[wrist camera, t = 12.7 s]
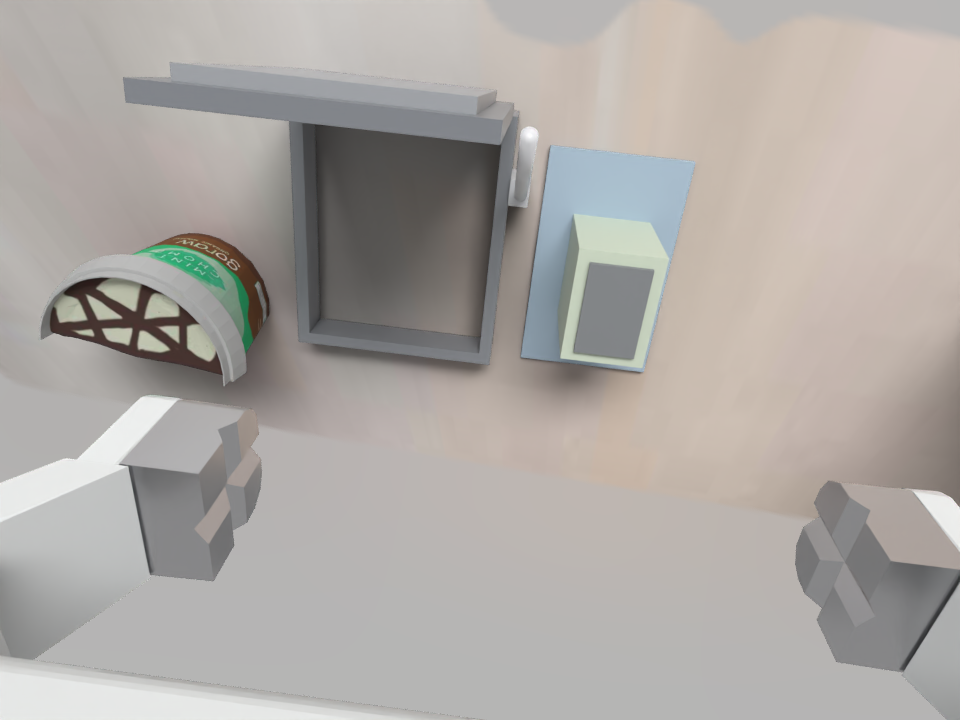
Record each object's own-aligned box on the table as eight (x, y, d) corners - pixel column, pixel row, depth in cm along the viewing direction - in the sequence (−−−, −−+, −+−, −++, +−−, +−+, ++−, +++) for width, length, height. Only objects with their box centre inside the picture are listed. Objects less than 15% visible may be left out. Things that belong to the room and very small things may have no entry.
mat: (694, 161, 41) (695, 162, 40) (642, 369, 48) (643, 372, 48) (550, 145, 41) (550, 146, 41) (520, 354, 48) (520, 357, 48)
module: (650, 222, 42) (670, 260, 36) (628, 320, 46) (642, 370, 39) (573, 213, 43) (579, 250, 36) (557, 311, 46) (560, 360, 40)
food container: (297, 242, 45) (239, 297, 37) (288, 319, 48) (233, 388, 40) (121, 196, 45) (20, 241, 36) (123, 277, 48) (30, 337, 39)
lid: (512, 118, 37) (515, 91, 37) (500, 145, 22) (505, 101, 22) (289, 93, 38) (288, 66, 37) (125, 102, 23) (120, 57, 22)
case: (541, 94, 40) (541, 129, 28) (507, 350, 48) (497, 458, 37) (300, 67, 40) (204, 91, 28) (309, 326, 49) (237, 426, 37)
